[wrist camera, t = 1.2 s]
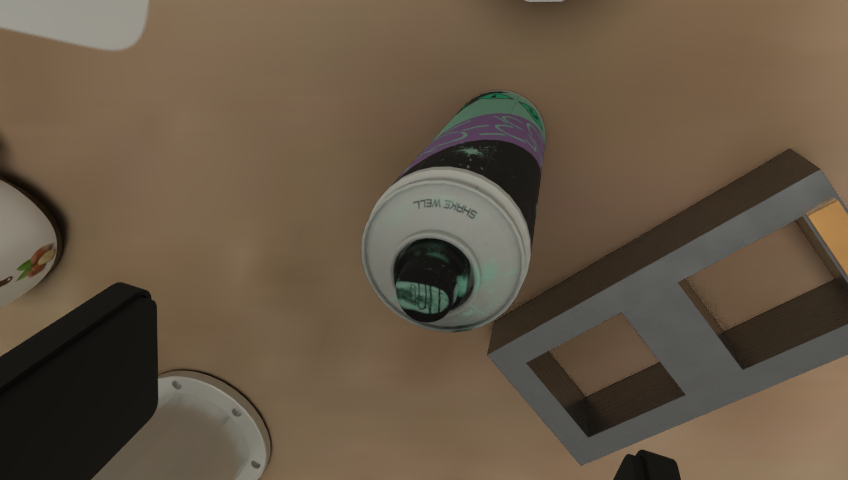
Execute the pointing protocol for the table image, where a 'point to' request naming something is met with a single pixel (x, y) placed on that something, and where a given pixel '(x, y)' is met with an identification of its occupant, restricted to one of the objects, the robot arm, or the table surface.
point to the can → (544, 0)
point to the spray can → (460, 218)
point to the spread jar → (25, 242)
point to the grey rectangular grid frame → (683, 315)
